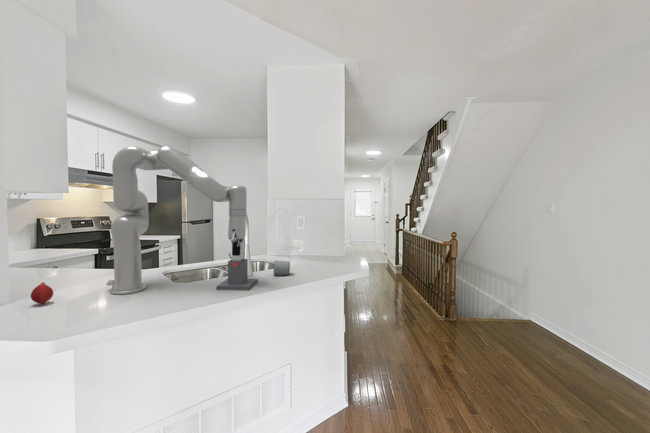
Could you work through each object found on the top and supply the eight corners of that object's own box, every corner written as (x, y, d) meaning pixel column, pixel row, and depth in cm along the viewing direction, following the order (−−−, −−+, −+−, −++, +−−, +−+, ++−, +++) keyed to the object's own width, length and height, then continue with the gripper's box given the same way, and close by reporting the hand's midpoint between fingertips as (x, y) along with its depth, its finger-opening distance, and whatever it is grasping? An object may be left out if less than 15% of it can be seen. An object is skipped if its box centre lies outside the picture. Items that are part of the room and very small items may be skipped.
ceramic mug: (290, 276, 151) (290, 261, 151) (273, 277, 150) (273, 261, 149) (288, 272, 162) (288, 258, 162) (272, 272, 160) (272, 258, 160)
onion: (34, 308, 103) (33, 285, 102) (28, 305, 106) (28, 282, 105) (55, 303, 107) (55, 281, 107) (50, 300, 111) (49, 279, 110)
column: (231, 282, 131) (231, 242, 130) (235, 280, 135) (234, 241, 135) (241, 282, 131) (240, 242, 130) (244, 280, 135) (244, 241, 134)
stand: (216, 289, 127) (216, 262, 126) (228, 281, 141) (228, 257, 140) (248, 290, 126) (248, 263, 125) (257, 281, 140) (257, 257, 139)
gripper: (236, 213, 141) (236, 251, 141) (222, 214, 124) (222, 257, 125) (251, 213, 140) (251, 251, 141) (239, 214, 123) (239, 258, 124)
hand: (237, 254), depth 133 cm, fingers closed on column, 4 cm apart
